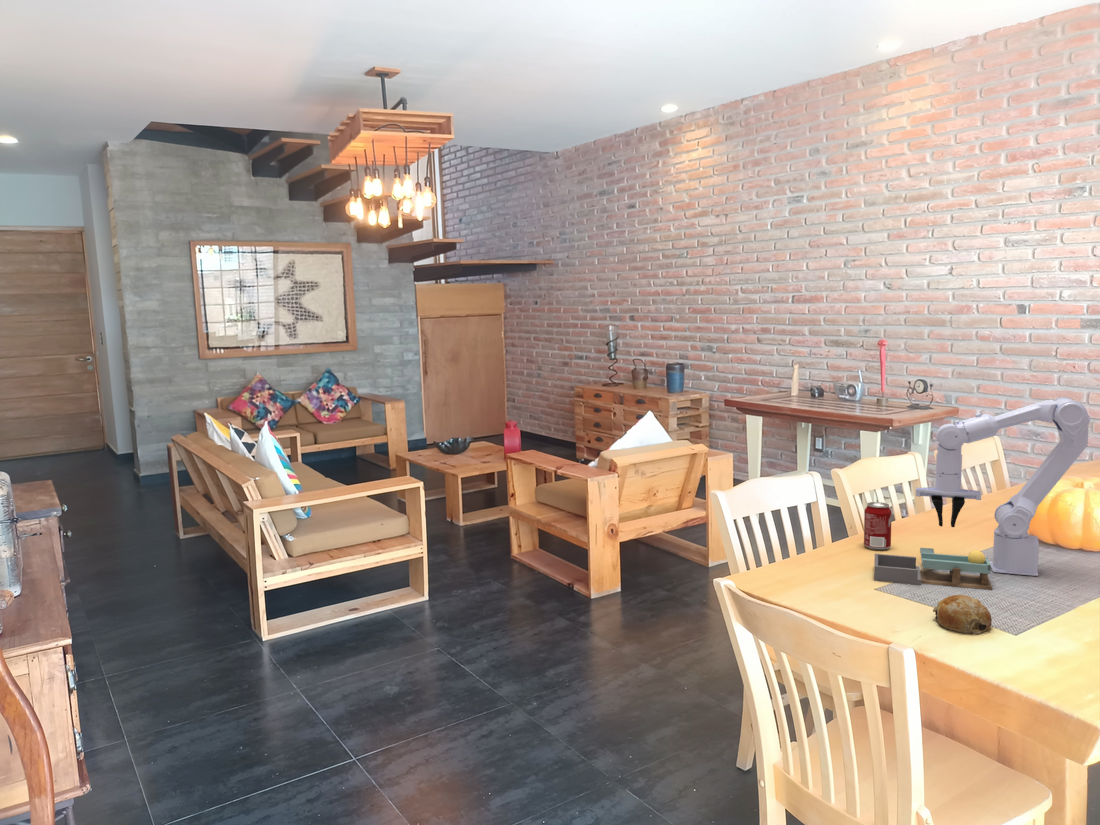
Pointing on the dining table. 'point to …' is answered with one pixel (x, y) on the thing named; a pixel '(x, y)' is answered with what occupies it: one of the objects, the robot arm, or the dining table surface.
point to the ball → (976, 557)
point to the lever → (952, 562)
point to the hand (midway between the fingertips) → (946, 525)
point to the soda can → (877, 526)
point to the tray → (896, 569)
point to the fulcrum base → (956, 579)
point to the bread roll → (963, 614)
